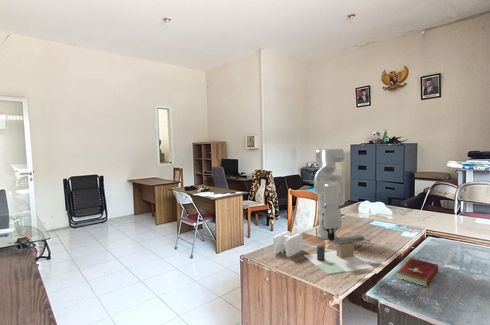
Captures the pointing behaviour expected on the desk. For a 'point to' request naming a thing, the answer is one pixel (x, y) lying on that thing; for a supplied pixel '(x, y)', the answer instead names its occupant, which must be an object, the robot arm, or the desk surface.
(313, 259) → the cable panel
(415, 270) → the hardcover book
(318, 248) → the cable plug
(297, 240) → the cable organizer
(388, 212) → the desk surface
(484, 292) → the desk surface
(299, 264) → the desk surface
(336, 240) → the bar
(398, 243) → the desk surface
